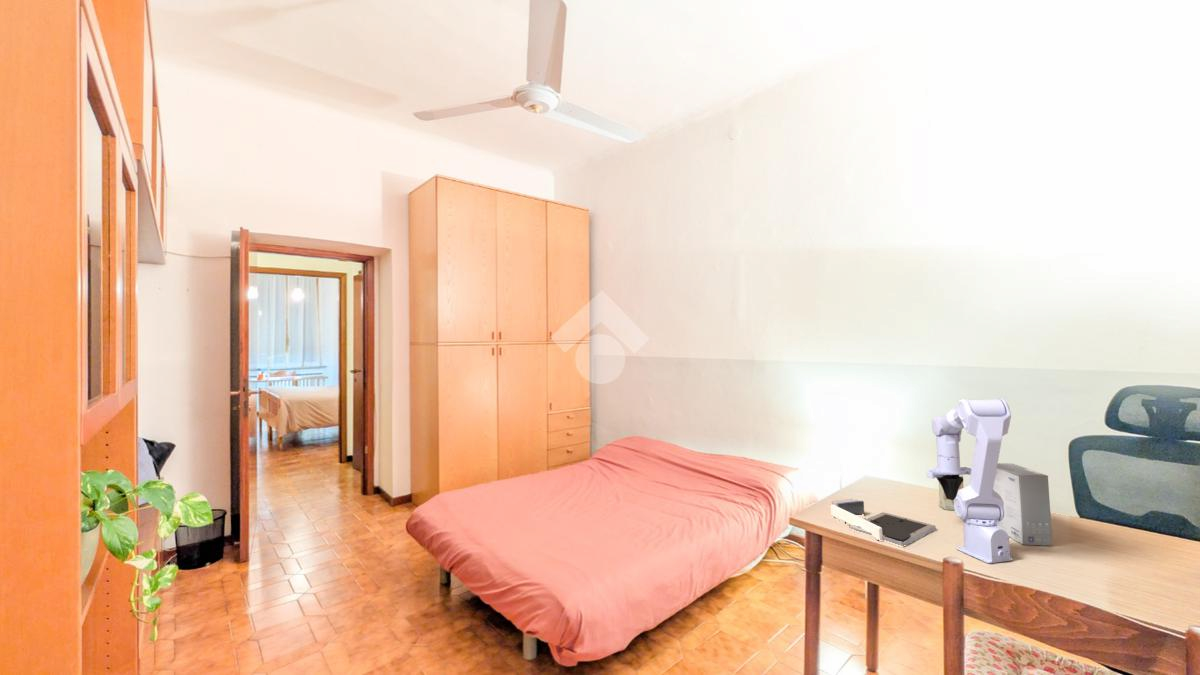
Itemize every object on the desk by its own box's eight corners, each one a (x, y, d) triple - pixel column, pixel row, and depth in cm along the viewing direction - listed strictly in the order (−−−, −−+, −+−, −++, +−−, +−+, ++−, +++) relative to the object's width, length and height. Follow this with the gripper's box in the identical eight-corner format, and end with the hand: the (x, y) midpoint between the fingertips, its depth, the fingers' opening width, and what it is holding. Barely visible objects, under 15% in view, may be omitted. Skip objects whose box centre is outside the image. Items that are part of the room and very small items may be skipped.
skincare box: (944, 510, 163) (941, 474, 163) (939, 505, 167) (937, 471, 168) (965, 511, 161) (963, 475, 161) (960, 507, 165) (958, 472, 166)
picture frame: (903, 549, 135) (935, 532, 147) (902, 539, 135) (935, 523, 147) (849, 532, 149) (883, 518, 160) (849, 523, 149) (882, 509, 160)
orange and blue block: (860, 515, 161) (859, 500, 161) (837, 518, 160) (837, 503, 160) (852, 511, 165) (852, 497, 165) (831, 514, 163) (830, 500, 163)
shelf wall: (882, 541, 140) (881, 527, 140) (879, 541, 140) (879, 528, 140) (833, 516, 162) (833, 504, 162) (831, 516, 161) (830, 504, 161)
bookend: (869, 518, 158) (868, 503, 158) (843, 521, 156) (843, 506, 157) (862, 515, 161) (861, 500, 161) (837, 518, 160) (836, 503, 160)
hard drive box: (1054, 547, 132) (1049, 476, 132) (1022, 545, 133) (1018, 475, 134) (1017, 526, 147) (1013, 462, 148) (989, 525, 149) (985, 462, 149)
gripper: (956, 451, 152) (958, 493, 152) (917, 454, 150) (920, 497, 149) (976, 455, 145) (979, 499, 145) (937, 459, 143) (939, 504, 143)
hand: (950, 499), depth 147 cm, fingers closed
